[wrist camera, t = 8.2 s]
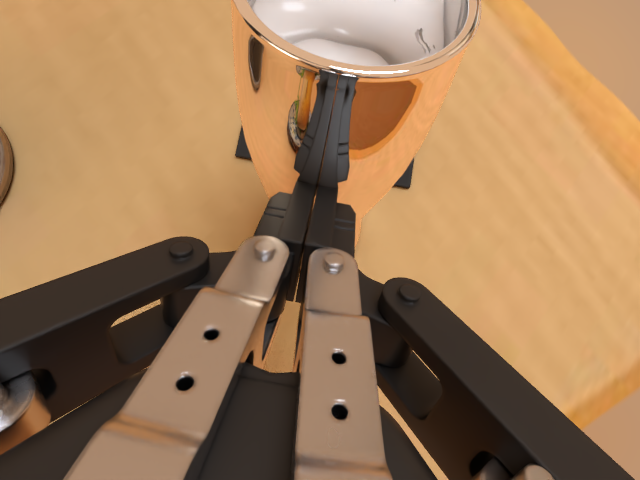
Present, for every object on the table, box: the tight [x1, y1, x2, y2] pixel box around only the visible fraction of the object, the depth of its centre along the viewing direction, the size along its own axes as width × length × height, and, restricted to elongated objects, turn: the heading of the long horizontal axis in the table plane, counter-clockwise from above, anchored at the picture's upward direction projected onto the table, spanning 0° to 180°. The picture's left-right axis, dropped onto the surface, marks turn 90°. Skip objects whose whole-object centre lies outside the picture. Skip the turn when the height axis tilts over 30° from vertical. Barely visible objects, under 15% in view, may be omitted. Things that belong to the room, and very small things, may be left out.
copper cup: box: [231, 0, 481, 247], centre depth 16 cm, size 7×7×15 cm
